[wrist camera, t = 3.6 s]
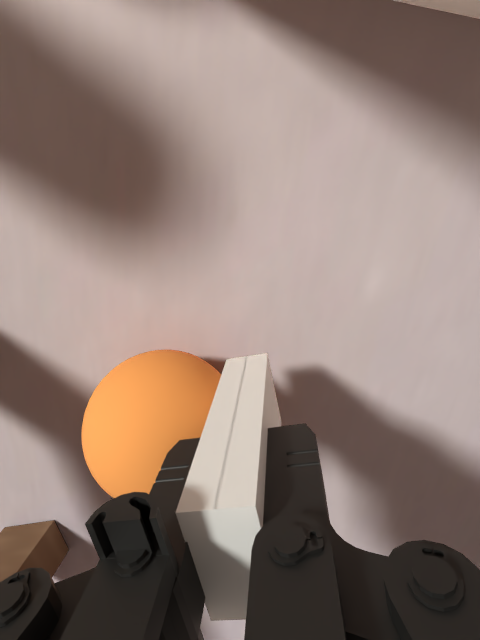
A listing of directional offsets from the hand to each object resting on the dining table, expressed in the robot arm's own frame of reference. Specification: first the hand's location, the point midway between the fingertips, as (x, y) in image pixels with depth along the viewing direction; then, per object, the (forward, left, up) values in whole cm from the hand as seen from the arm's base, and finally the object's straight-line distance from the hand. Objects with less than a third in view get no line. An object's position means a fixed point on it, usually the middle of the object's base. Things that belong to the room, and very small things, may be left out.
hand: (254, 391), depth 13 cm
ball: (-1, +4, 0) cm, 4 cm away
